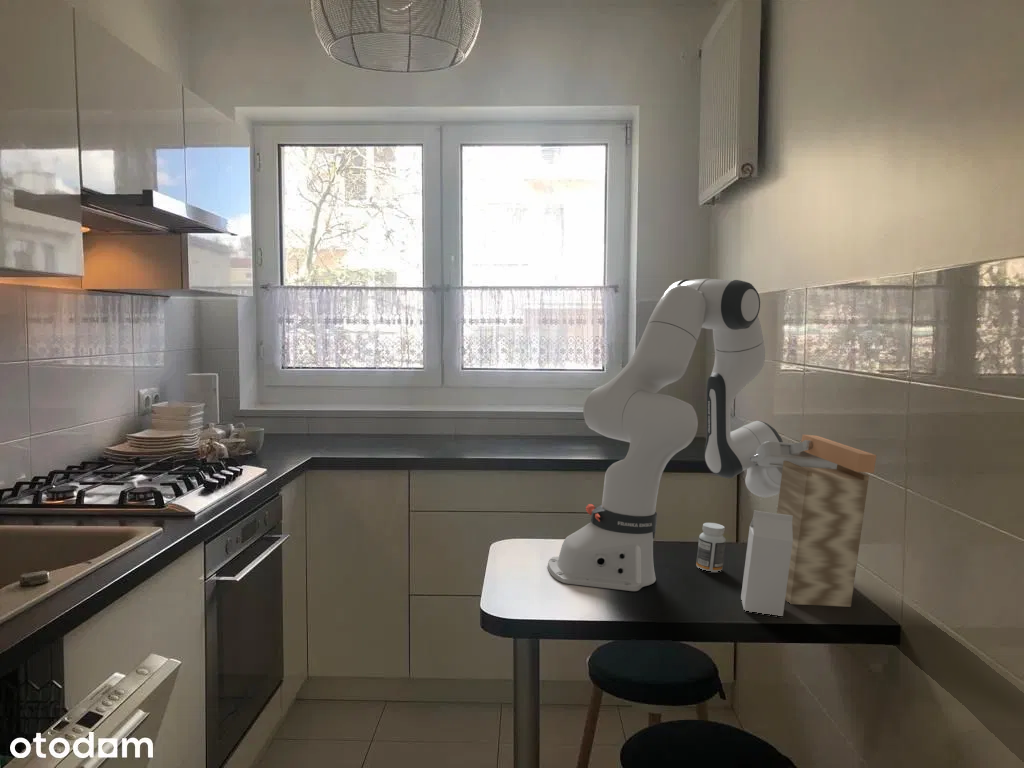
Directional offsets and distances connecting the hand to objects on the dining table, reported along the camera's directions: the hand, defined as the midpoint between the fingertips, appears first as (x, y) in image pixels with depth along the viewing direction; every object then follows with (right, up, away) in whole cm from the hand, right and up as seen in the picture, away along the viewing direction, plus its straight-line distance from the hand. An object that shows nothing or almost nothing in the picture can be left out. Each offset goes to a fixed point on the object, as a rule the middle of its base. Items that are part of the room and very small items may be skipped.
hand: (820, 444), depth 164 cm
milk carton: (-18, -31, -15) cm, 39 cm away
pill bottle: (-22, -28, +6) cm, 37 cm away
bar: (+1, -3, -6) cm, 7 cm away
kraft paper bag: (-5, -31, -5) cm, 32 cm away
